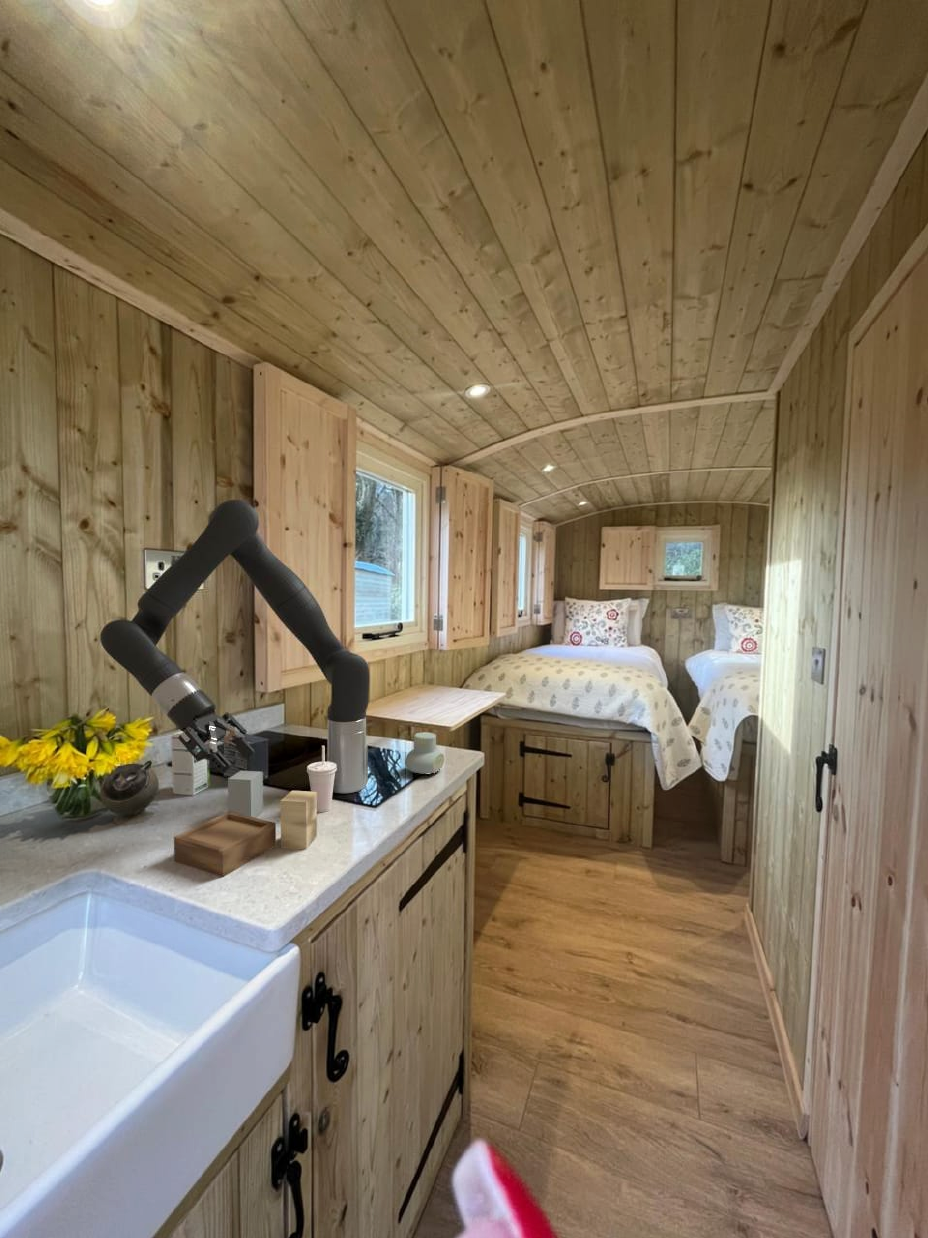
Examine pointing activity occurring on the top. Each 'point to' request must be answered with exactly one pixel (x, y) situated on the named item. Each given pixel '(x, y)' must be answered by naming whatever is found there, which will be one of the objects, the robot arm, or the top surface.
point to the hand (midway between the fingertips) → (240, 762)
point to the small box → (254, 762)
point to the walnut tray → (224, 843)
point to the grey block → (246, 793)
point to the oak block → (298, 819)
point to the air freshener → (424, 754)
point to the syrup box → (188, 769)
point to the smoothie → (322, 781)
